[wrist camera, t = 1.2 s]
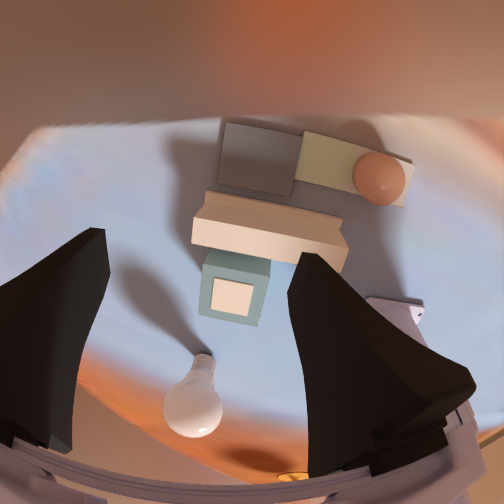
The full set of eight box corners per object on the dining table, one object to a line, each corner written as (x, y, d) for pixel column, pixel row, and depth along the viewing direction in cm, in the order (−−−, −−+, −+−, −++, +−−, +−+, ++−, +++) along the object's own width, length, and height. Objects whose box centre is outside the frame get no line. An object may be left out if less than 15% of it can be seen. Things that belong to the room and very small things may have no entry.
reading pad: (289, 195, 23) (290, 197, 22) (217, 181, 23) (216, 183, 22) (302, 136, 20) (303, 137, 20) (227, 122, 20) (226, 122, 20)
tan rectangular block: (331, 250, 24) (341, 280, 20) (202, 225, 24) (186, 250, 20) (341, 218, 23) (355, 242, 19) (207, 190, 23) (190, 208, 18)
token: (387, 203, 22) (396, 210, 20) (346, 191, 22) (352, 198, 20) (400, 160, 20) (411, 164, 18) (358, 145, 20) (366, 147, 18)
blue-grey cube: (260, 292, 27) (256, 327, 23) (209, 282, 27) (196, 315, 23) (271, 247, 25) (269, 277, 20) (215, 236, 25) (201, 264, 20)
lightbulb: (176, 336, 31) (146, 413, 21) (229, 340, 30) (212, 424, 21) (186, 370, 34) (164, 440, 24) (233, 375, 33) (221, 450, 23)
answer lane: (400, 206, 22) (402, 207, 22) (293, 178, 22) (293, 178, 22) (413, 164, 20) (414, 165, 20) (304, 130, 20) (304, 130, 20)
